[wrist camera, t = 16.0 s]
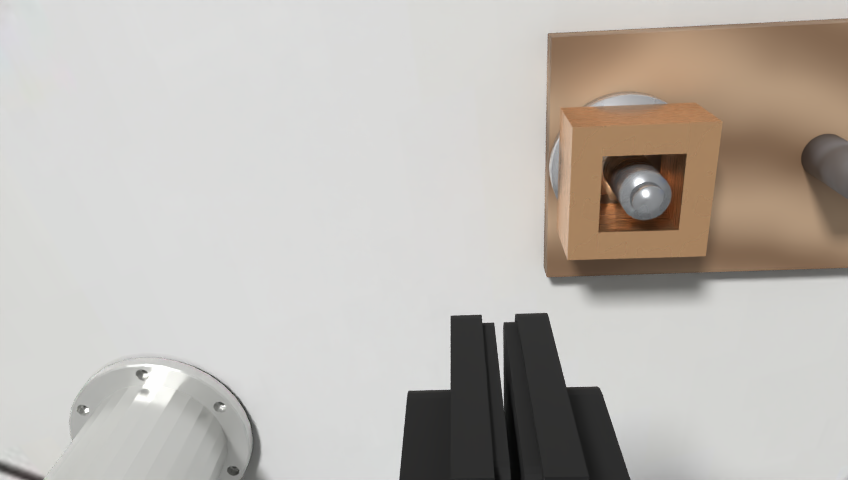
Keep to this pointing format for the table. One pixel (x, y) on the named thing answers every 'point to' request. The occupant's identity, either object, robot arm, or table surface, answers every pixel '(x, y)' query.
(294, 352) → the table surface
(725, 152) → the walnut board
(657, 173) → the steel hub
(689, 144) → the wooden square washer
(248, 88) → the table surface
